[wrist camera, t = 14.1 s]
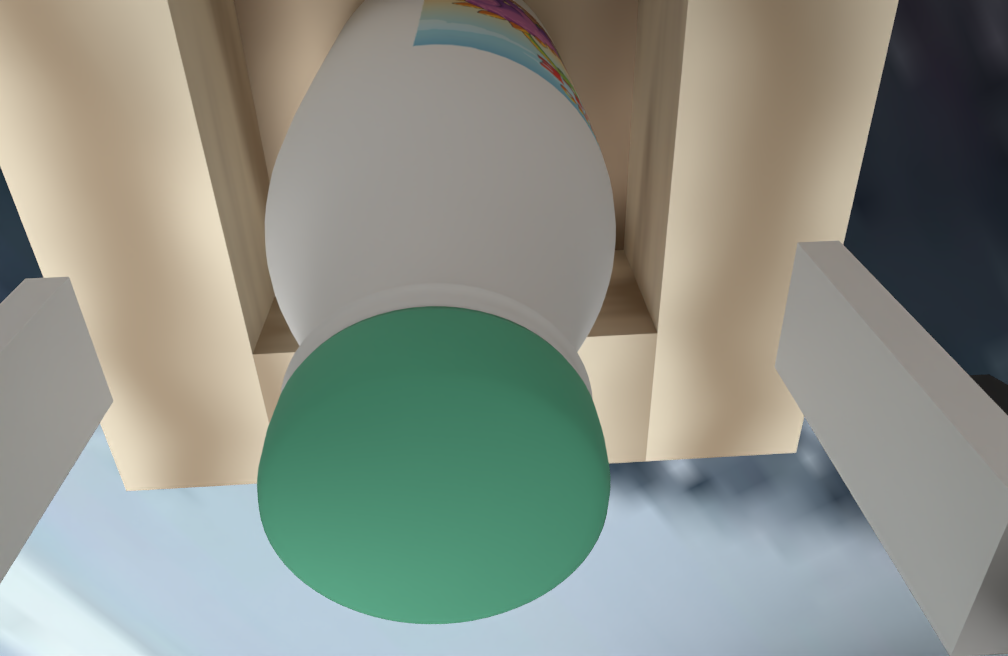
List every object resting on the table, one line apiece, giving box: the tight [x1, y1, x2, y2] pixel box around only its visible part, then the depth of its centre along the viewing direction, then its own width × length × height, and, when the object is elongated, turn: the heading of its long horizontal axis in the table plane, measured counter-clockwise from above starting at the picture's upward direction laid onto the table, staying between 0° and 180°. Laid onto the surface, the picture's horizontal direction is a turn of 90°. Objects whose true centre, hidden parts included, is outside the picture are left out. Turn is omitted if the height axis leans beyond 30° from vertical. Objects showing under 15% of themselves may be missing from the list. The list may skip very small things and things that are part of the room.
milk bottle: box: [257, 0, 616, 624], centre depth 18 cm, size 8×8×20 cm
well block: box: [0, 0, 899, 491], centre depth 25 cm, size 24×24×7 cm
